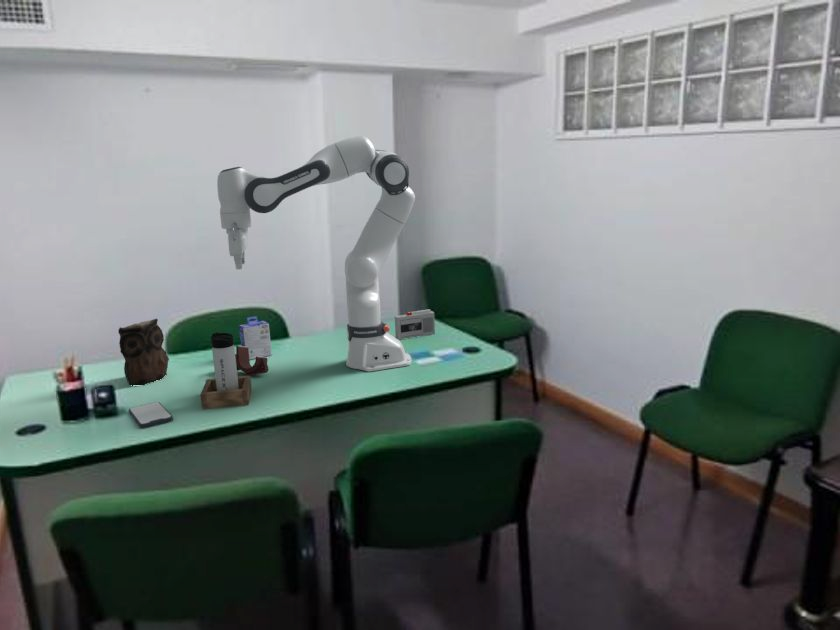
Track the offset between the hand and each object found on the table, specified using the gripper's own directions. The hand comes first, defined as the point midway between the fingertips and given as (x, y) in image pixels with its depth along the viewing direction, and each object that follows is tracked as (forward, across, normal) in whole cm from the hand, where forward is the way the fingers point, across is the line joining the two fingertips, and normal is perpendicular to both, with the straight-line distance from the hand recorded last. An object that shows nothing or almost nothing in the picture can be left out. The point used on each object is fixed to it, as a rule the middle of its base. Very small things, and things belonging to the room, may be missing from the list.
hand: (240, 266), depth 197 cm
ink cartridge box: (+37, +25, 0) cm, 45 cm away
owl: (+37, +10, +35) cm, 52 cm away
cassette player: (+37, +34, -60) cm, 78 cm away
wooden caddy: (+37, -14, +6) cm, 40 cm away
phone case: (+38, -24, +26) cm, 52 cm away
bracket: (+38, +7, +3) cm, 38 cm away
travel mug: (+37, -16, +6) cm, 41 cm away
